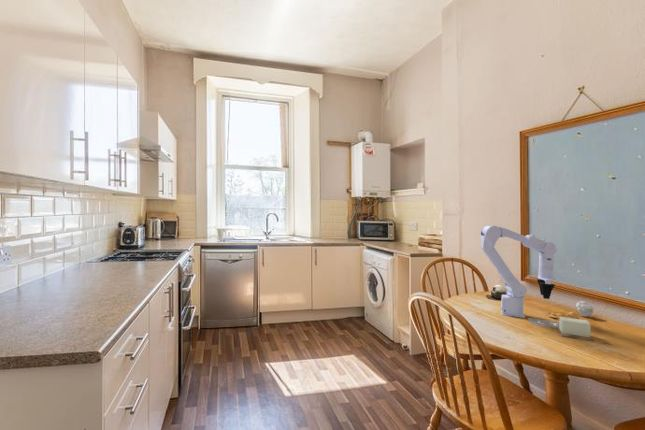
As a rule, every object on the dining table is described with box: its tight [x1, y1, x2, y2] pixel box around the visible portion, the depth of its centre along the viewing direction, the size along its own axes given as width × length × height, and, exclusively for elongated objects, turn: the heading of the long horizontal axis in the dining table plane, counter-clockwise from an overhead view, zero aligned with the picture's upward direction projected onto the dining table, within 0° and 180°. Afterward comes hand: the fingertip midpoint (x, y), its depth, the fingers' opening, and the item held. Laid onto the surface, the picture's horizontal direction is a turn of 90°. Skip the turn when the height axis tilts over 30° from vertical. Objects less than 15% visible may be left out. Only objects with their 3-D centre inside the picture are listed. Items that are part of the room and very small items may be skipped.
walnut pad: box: [555, 327, 594, 342], centre depth 136 cm, size 10×10×1 cm
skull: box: [485, 284, 507, 301], centre depth 192 cm, size 12×10×10 cm
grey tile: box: [527, 317, 559, 329], centre depth 149 cm, size 14×10×1 cm
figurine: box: [547, 311, 580, 319], centre depth 156 cm, size 8×6×12 cm
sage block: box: [558, 316, 592, 337], centre depth 136 cm, size 9×6×5 cm, turn 65°
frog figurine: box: [575, 300, 594, 318], centre depth 161 cm, size 6×7×7 cm
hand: (544, 296), depth 159 cm, fingers open, 7 cm apart
